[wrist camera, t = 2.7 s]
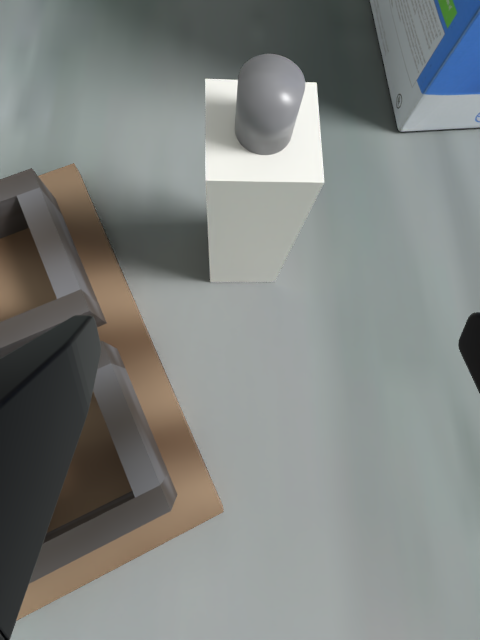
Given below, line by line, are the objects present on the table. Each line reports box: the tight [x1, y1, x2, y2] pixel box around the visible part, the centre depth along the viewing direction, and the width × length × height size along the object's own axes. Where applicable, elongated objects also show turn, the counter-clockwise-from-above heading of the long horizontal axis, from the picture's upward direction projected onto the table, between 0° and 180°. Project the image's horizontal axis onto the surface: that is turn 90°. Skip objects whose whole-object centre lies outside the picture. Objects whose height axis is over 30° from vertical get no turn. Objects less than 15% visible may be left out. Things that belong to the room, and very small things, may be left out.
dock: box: [0, 163, 223, 621], centre depth 20 cm, size 22×12×4 cm, turn 25°
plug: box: [205, 54, 324, 282], centre depth 17 cm, size 4×4×13 cm
